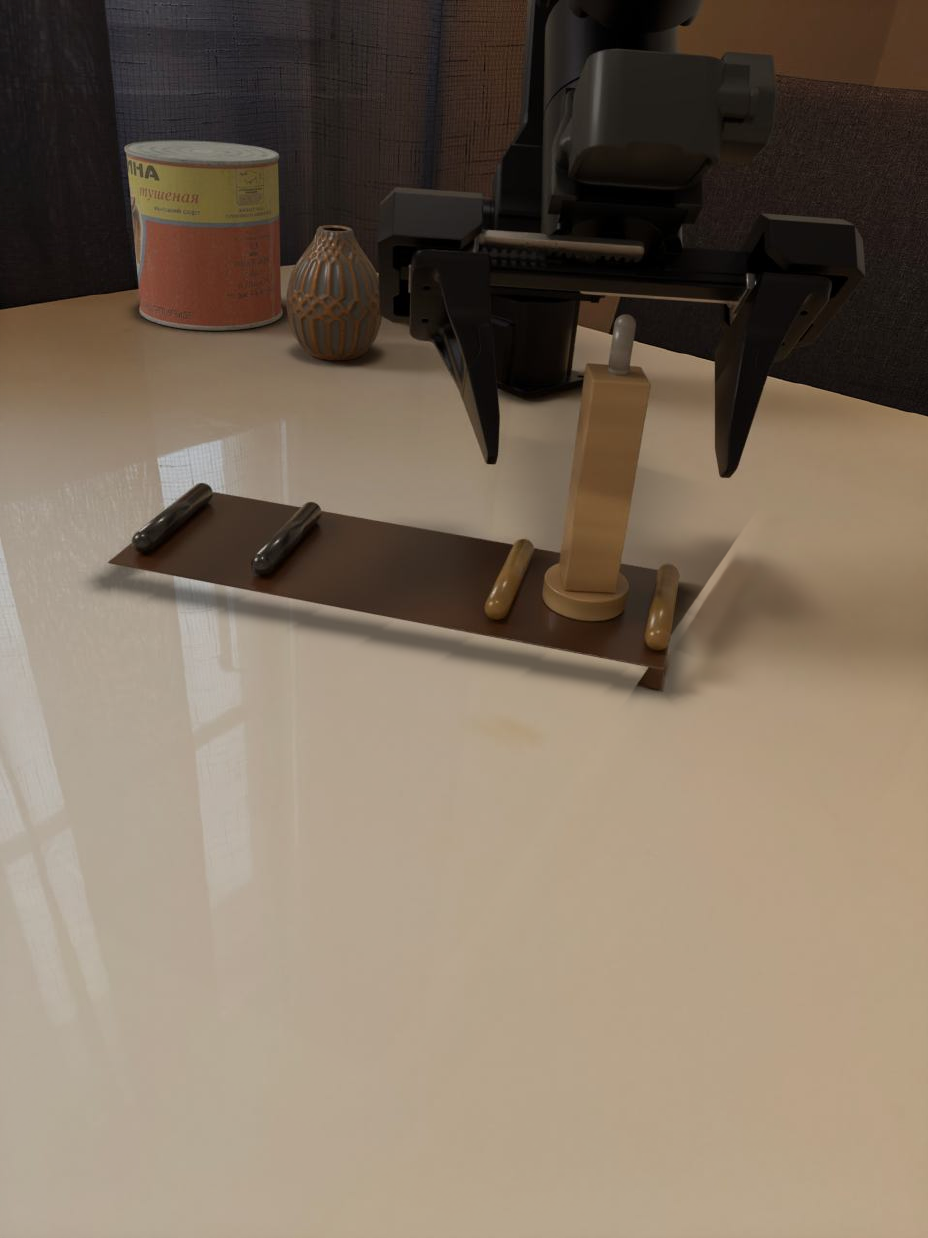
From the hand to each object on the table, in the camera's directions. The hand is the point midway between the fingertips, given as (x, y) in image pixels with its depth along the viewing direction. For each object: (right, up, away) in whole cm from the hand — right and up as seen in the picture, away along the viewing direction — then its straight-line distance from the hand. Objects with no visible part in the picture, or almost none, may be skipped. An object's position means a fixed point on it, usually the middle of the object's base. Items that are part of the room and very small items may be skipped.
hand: (611, 467), depth 39 cm
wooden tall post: (-1, -5, +5) cm, 7 cm away
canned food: (-26, +19, +43) cm, 54 cm away
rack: (-8, -4, +7) cm, 12 cm away
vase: (-15, +14, +36) cm, 42 cm away
